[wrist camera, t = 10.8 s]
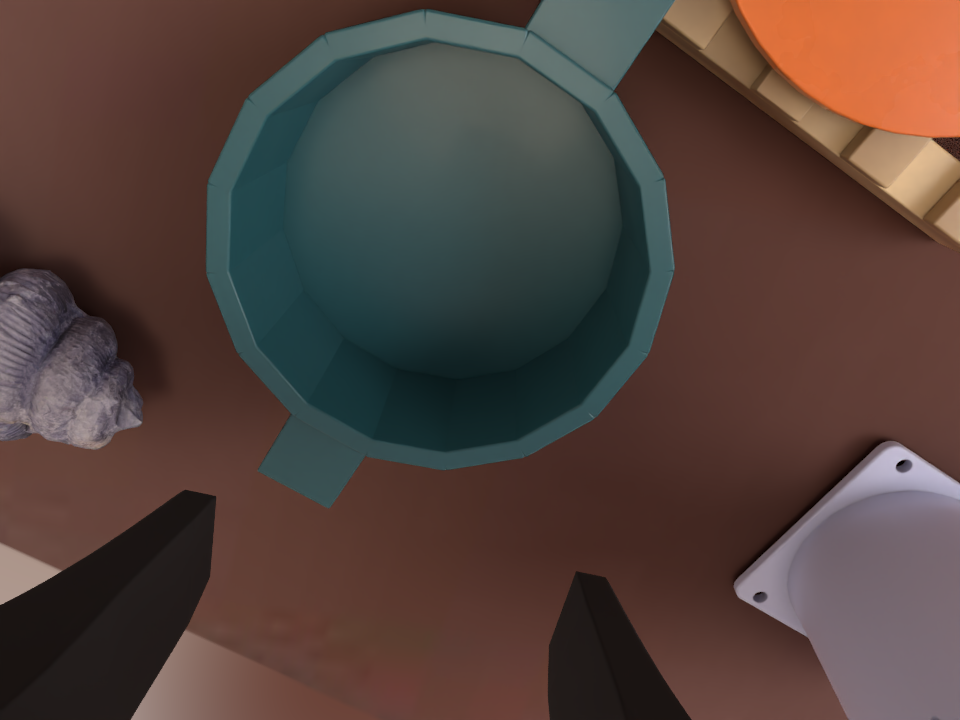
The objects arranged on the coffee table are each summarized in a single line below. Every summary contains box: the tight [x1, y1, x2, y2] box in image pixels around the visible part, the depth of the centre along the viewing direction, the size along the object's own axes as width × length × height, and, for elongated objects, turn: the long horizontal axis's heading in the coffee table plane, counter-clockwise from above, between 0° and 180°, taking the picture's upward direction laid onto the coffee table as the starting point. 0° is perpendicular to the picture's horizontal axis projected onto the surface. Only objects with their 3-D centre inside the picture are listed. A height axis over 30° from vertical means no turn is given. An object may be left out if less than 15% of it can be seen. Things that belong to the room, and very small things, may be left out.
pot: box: [206, 0, 675, 508], centre depth 19 cm, size 11×17×5 cm
